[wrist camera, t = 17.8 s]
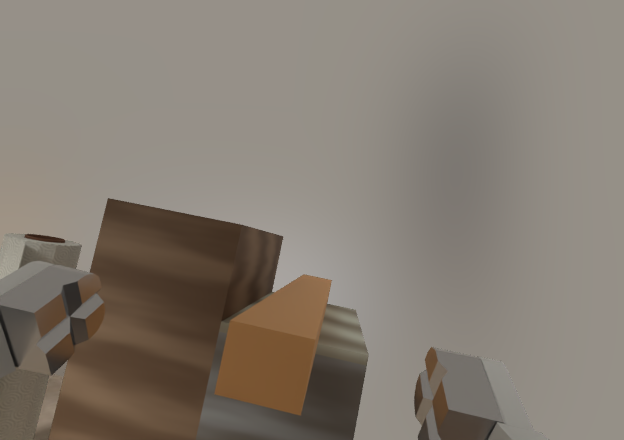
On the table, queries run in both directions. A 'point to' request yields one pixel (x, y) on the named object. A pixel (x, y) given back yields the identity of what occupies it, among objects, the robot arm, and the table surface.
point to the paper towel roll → (21, 383)
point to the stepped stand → (192, 338)
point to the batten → (275, 347)
